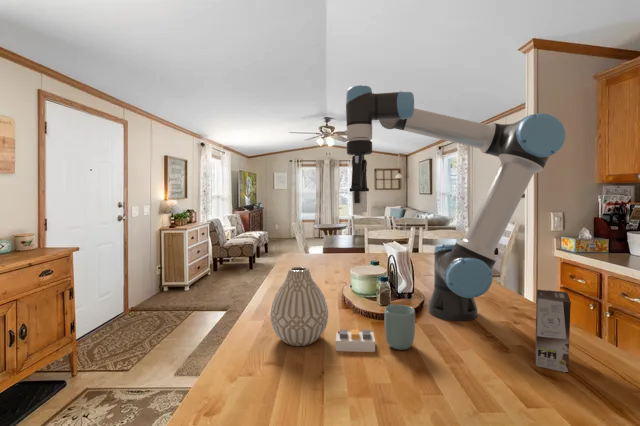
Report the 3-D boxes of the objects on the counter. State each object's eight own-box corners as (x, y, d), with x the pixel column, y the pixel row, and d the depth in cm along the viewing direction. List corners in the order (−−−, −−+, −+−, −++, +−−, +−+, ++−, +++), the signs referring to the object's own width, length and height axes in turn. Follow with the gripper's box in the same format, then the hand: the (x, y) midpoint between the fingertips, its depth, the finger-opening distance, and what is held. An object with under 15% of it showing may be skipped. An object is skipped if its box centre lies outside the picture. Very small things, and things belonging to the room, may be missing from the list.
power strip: (373, 342, 94) (373, 327, 94) (375, 353, 88) (374, 337, 88) (336, 342, 95) (336, 327, 95) (335, 352, 89) (335, 336, 89)
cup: (416, 354, 87) (416, 315, 86) (384, 352, 88) (384, 313, 87) (414, 341, 94) (414, 305, 94) (384, 339, 96) (384, 303, 95)
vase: (283, 358, 86) (282, 278, 84) (263, 335, 100) (261, 266, 98) (339, 344, 93) (338, 270, 92) (312, 324, 107) (311, 260, 106)
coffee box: (569, 373, 77) (571, 302, 76) (535, 366, 80) (536, 297, 79) (566, 356, 84) (568, 291, 83) (535, 350, 88) (536, 288, 87)
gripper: (352, 146, 116) (353, 211, 117) (339, 135, 92) (341, 216, 93) (375, 145, 114) (375, 210, 115) (368, 133, 90) (369, 216, 92)
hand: (360, 213), depth 104 cm, fingers open, 12 cm apart
